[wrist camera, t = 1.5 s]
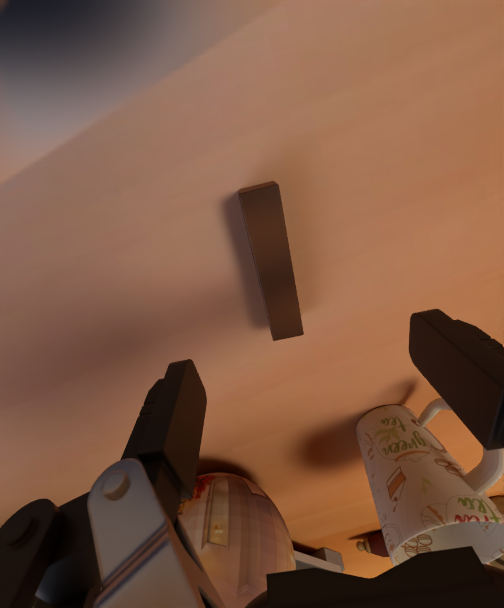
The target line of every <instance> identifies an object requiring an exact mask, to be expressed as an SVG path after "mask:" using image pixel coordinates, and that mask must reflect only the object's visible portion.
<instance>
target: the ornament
mask: <svg viewBox="0 0 504 608" xmlns="http://www.w3.org/2000/svg"><path fill="white" fill-rule="evenodd" d="M177 514H178V516H179V518H180V520H181V522H182V524H183V526H184V528H185V530H186V532H187V534H188V536H189V538H190V540H191V542H192V544H193V546H194V548H195V550H196V552H197V555H198V557H199V559H200V561H201V563H202V565H203V567H204V569H205V571H206V573H207V575H208V577H209V579H210V580H211V582H212V584H213V586H214V587H215V589H216V591H217V592H218V594H219V596H220V598H221V599H222V601H223V603H224V605H225V607H226V608H245V607H246V606H247V604H248V603H249V602H251V601H252V600H253V599H254V598H256V597H257V596H258V595H260V594H261V593H263V592H265V591H266V590H267V578H266V574H270V573H278V572H285V571H292V570H296V561H295V556H294V550H293V546H292V542H291V539H290V535H289V532H288V529H287V527H286V524H285V522H284V520H283V518H282V516H281V514H280V512H279V511H278V509H277V507H276V506H275V504H274V503H273V502H272V500H271V499H270V498H269V497H268V495H267V494H266V493H265V492H264V491H263V490H262V489H260V488H259V487H258V486H257V485H255V484H254V483H252V482H251V481H249V480H247V479H245V478H243V477H240V476H237V475H234V474H230V473H208V474H204V475H201V476H197V477H196V478H195V485H194V492H193V498H188V499H182V500H180V501H179V507H178V512H177Z"/></svg>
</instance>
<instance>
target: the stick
mask: <svg viewBox="0 0 504 608" xmlns="http://www.w3.org/2000/svg"><path fill="white" fill-rule="evenodd" d="M239 199H240V203H241V208H242V212H243V216H244V220H245V224H246V229H247V233H248V237H249V241H250V245H251V250H252V254H253V258H254V262H255V266H256V271H257V275H258V279H259V283H260V287H261V292H262V296H263V300H264V304H265V309H266V313H267V317H268V321H269V325H270V330H271V334H272V338H273V341H276V340H281V339H286V338H291V337H296V336H300V335H303V334H304V333H303V327H302V321H301V315H300V309H299V303H298V297H297V291H296V285H295V279H294V273H293V268H292V262H291V256H290V250H289V244H288V238H287V232H286V226H285V220H284V214H283V208H282V202H281V196H280V190H279V185H278V184H277V183H276V182H274V181H271V182H267V183H263V184H259V185H255V186H251V187H247V188H243V189H240V190H239Z"/></svg>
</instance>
